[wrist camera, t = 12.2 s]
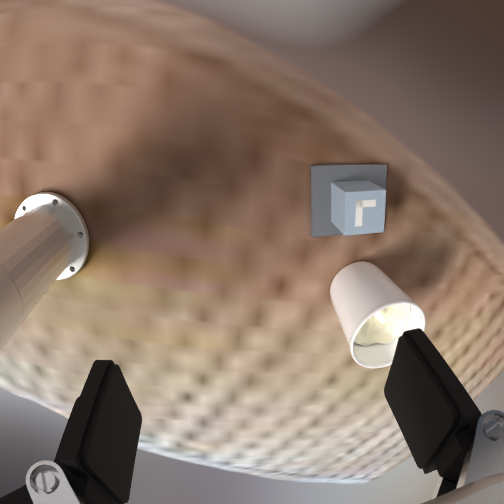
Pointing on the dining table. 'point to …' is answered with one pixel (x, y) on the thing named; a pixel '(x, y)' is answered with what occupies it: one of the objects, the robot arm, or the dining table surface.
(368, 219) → the letter block
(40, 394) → the dining table surface
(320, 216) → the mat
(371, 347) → the candle holder
